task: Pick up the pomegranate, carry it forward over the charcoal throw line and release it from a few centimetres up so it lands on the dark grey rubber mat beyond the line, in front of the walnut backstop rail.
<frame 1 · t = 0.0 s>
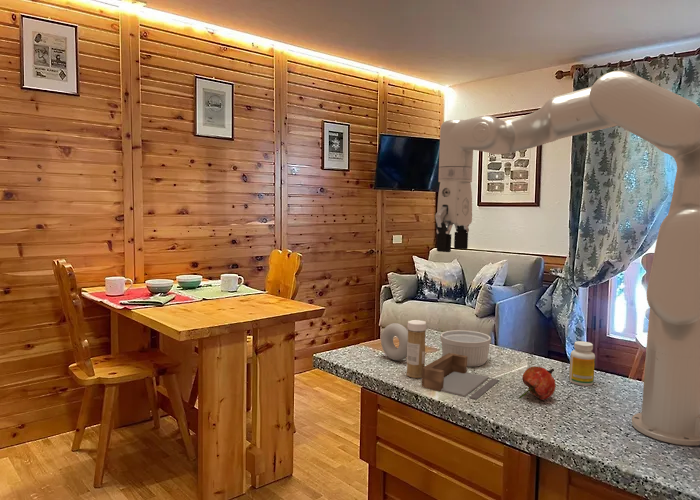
hand: (452, 250, 120), 31 cm above the kitchen counter, tool pointing down, fingers open, 9 cm apart
supplement bottle: (581, 383, 124), on the kitchen counter
throw line: (485, 388, 118), on the kitchen counter
backstop rail: (438, 378, 125), on the kitchen counter
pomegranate: (536, 399, 113), on the kitchen counter
sprinkles bottle: (415, 376, 127), on the kitchen counter
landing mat: (460, 383, 122), on the kitchen counter
donut: (395, 360, 139), on the kitchen counter
ramekin: (464, 361, 140), on the kitchen counter
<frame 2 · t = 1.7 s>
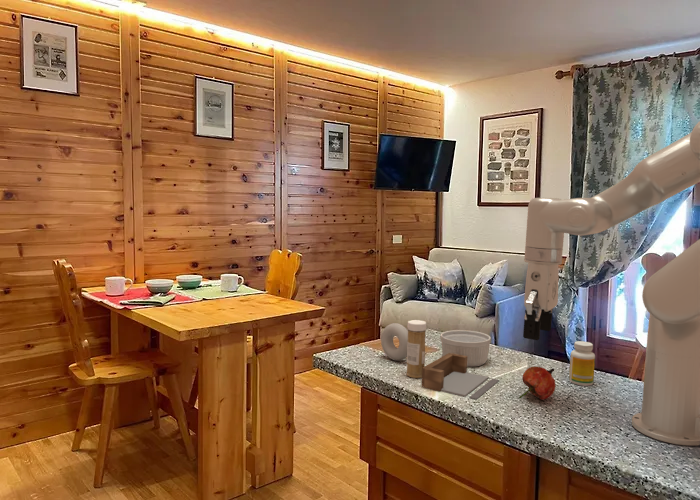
hand: (537, 334, 112), 14 cm above the kitchen counter, tool pointing down, fingers open, 9 cm apart
nothing on the kitchen counter moved.
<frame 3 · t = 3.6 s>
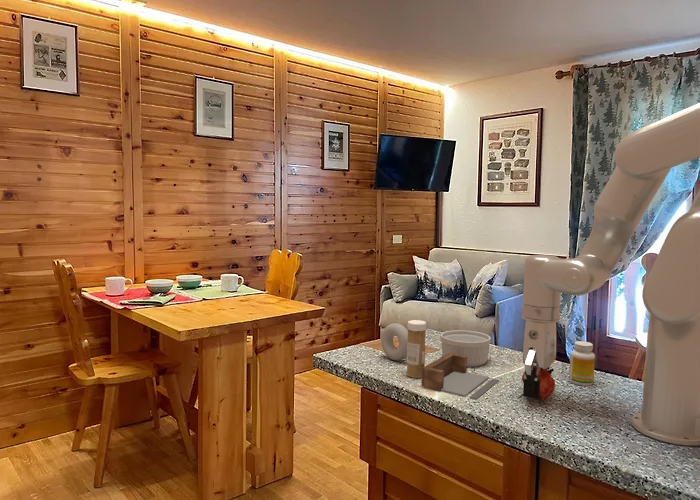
hand: (536, 391, 113), 1 cm above the kitchen counter, tool pointing down, fingers closed on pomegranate, 7 cm apart
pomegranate: (535, 399, 113), on the kitchen counter, touching gripper
everything else where it was.
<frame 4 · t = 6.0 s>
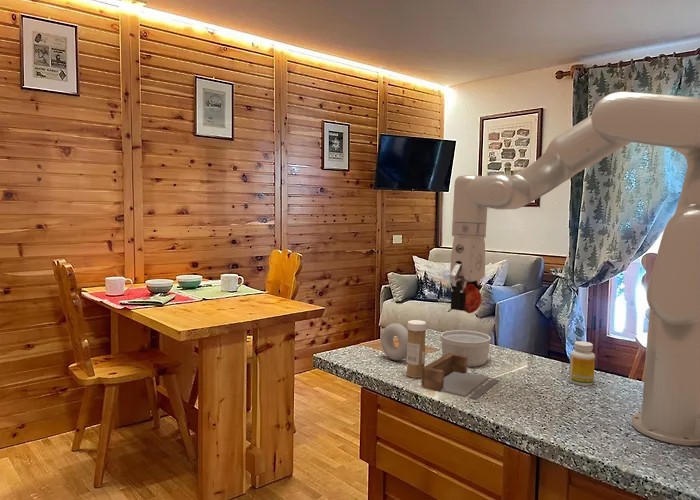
hand: (464, 306, 119), 18 cm above the kitchen counter, tool pointing down, fingers closed on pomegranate, 7 cm apart
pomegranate: (464, 313, 119), point 17 cm above the kitchen counter, touching gripper
everything else where it was.
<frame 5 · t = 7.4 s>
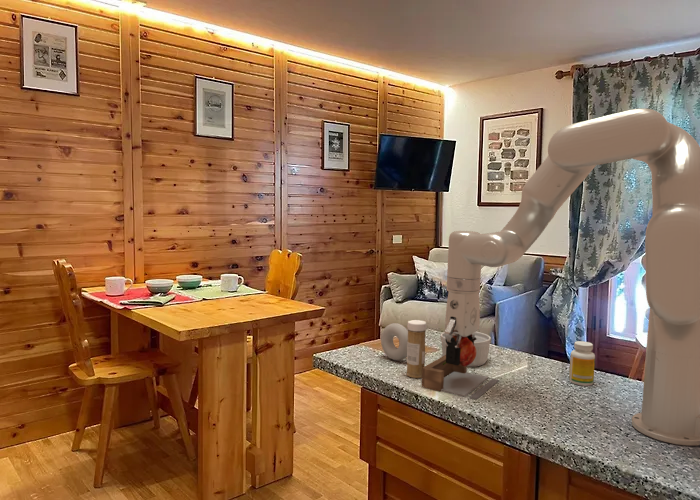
hand: (459, 359, 121), 6 cm above the kitchen counter, tool pointing down, fingers closed on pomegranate, 7 cm apart
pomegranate: (458, 365, 121), point 4 cm above the kitchen counter, touching gripper
everything else where it was.
when the fingers open (4 cm above the kitchen counter, at t = 8.6 s): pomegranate drops 2 cm, resting on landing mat.
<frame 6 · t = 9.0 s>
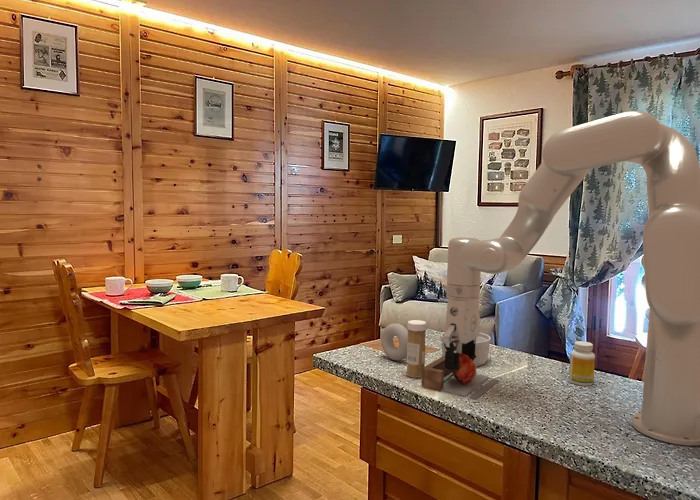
hand: (460, 363, 121), 5 cm above the kitchen counter, tool pointing down, fingers open, 9 cm apart
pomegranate: (459, 383, 121), resting on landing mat
everything else where it was.
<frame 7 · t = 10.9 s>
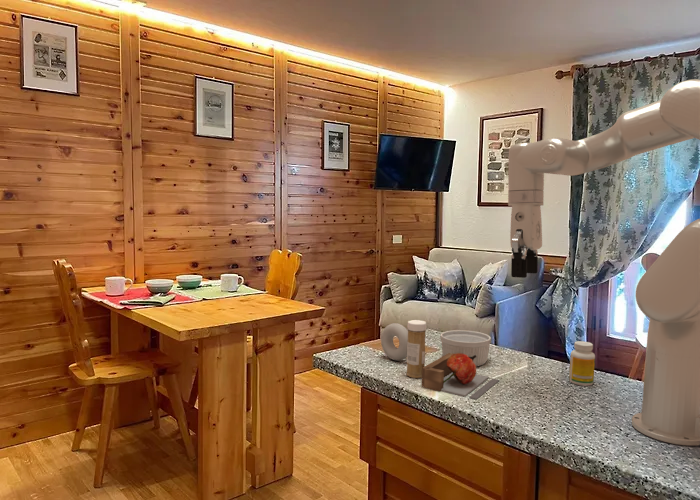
hand: (524, 275, 117), 26 cm above the kitchen counter, tool pointing down, fingers open, 9 cm apart
nothing on the kitchen counter moved.
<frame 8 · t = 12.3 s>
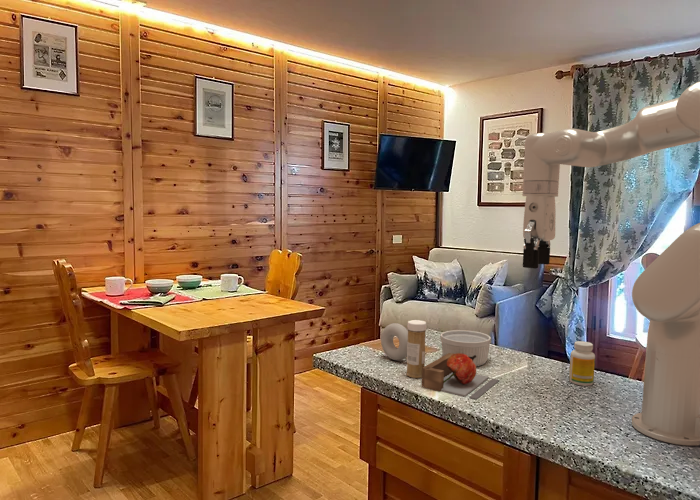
hand: (536, 265, 117), 28 cm above the kitchen counter, tool pointing down, fingers open, 9 cm apart
nothing on the kitchen counter moved.
at the end: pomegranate inside the target area (1.8 cm from its centre), resting on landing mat; the gripper is holding nothing; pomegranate moved 17.1 cm from its start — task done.
